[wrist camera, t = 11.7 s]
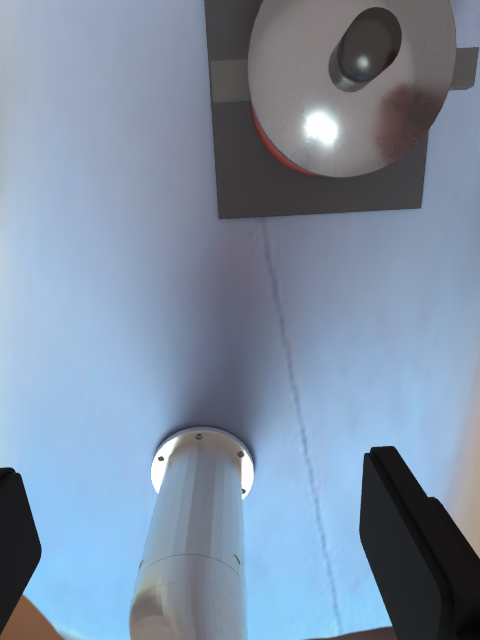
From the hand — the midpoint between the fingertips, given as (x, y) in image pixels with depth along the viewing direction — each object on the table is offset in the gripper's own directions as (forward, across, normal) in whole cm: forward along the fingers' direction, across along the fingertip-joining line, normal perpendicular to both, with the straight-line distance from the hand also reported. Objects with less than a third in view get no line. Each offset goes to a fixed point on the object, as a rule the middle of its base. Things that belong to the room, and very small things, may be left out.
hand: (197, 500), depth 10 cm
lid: (+22, -10, -16) cm, 29 cm away
